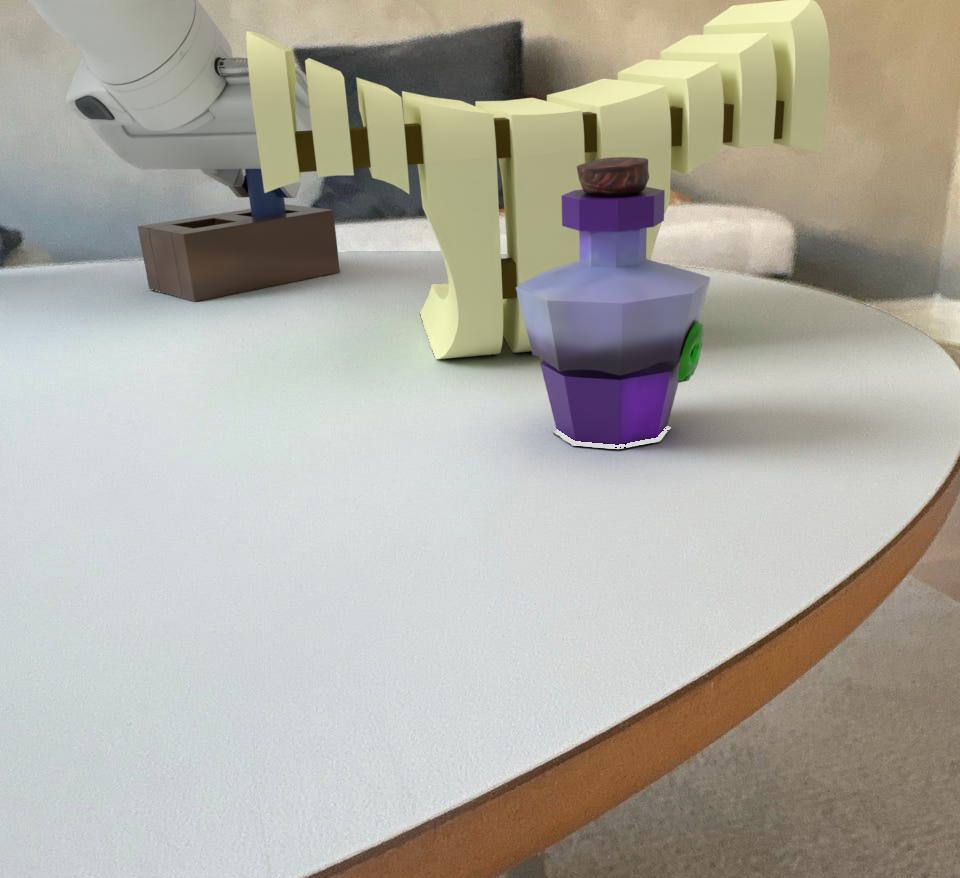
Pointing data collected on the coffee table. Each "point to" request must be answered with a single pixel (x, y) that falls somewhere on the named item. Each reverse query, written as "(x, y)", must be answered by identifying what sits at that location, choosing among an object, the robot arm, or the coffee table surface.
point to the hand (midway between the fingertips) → (270, 191)
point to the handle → (262, 196)
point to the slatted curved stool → (545, 148)
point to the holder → (238, 251)
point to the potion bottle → (614, 312)
